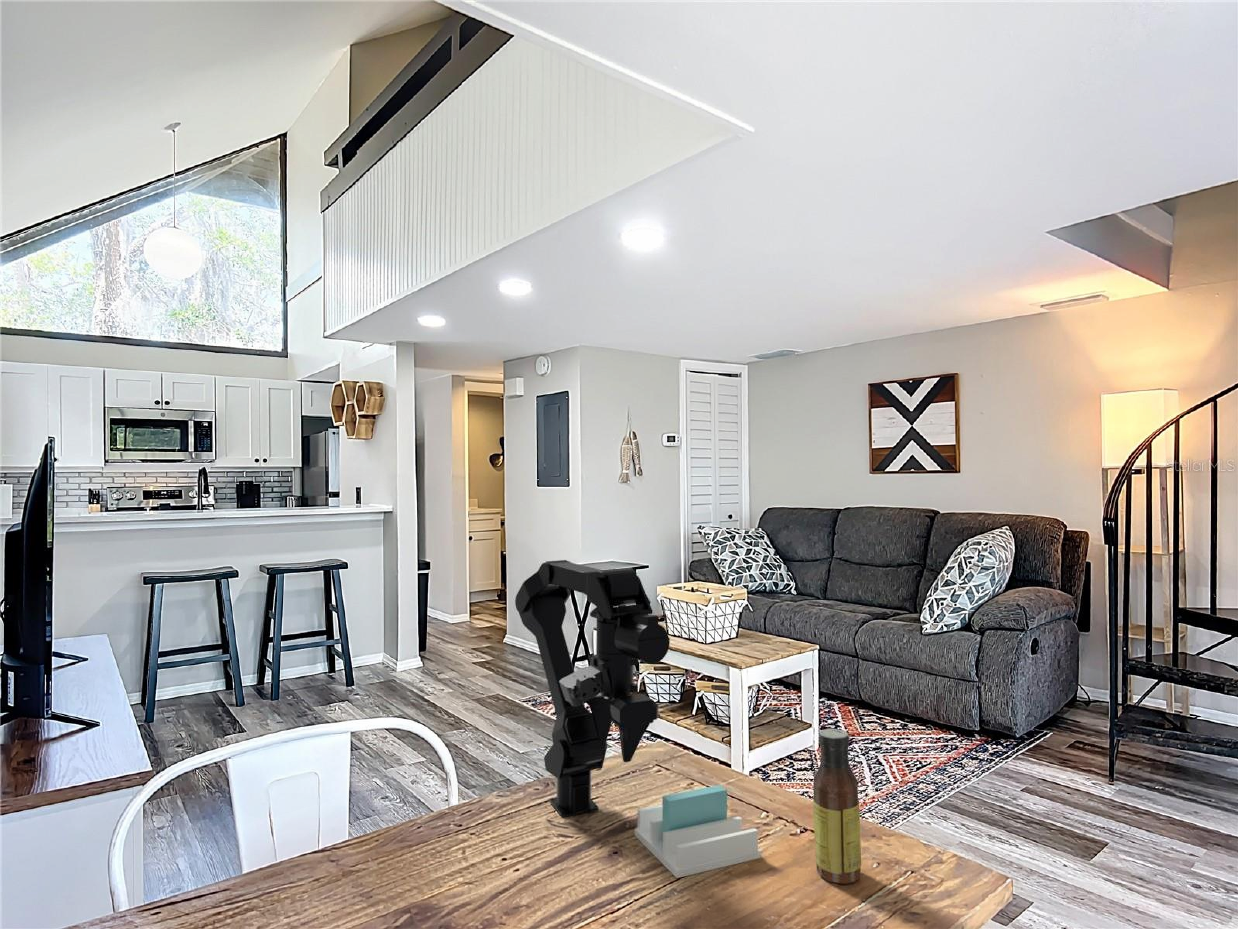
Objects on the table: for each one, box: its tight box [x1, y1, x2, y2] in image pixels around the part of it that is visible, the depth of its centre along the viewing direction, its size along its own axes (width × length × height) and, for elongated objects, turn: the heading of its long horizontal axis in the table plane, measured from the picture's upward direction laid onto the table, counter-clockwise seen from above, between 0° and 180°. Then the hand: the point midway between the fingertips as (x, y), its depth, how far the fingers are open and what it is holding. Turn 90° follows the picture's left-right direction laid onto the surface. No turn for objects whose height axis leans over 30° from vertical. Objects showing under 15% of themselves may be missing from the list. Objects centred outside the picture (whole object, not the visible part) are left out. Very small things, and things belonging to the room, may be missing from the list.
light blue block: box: [662, 784, 728, 843], centre depth 116 cm, size 2×10×7 cm, turn 115°
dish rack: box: [634, 803, 762, 879], centre depth 116 cm, size 14×14×4 cm
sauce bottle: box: [812, 728, 862, 885], centre depth 108 cm, size 6×6×20 cm
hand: (614, 751), depth 119 cm, fingers open, 9 cm apart
